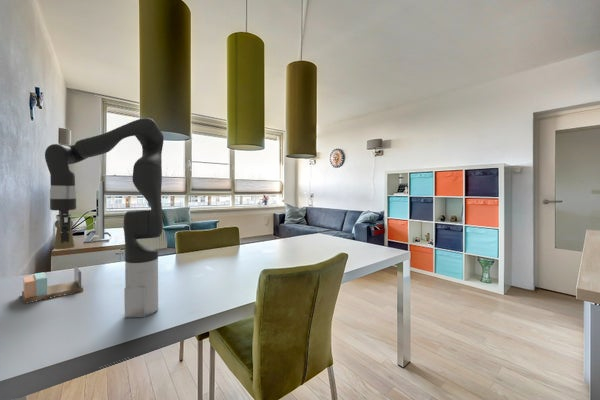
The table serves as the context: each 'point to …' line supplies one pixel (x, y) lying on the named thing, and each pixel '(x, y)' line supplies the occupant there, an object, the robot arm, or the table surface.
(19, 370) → the table surface
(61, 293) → the shelf board
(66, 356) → the table surface
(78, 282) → the bookend
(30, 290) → the books
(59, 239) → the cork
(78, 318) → the table surface
